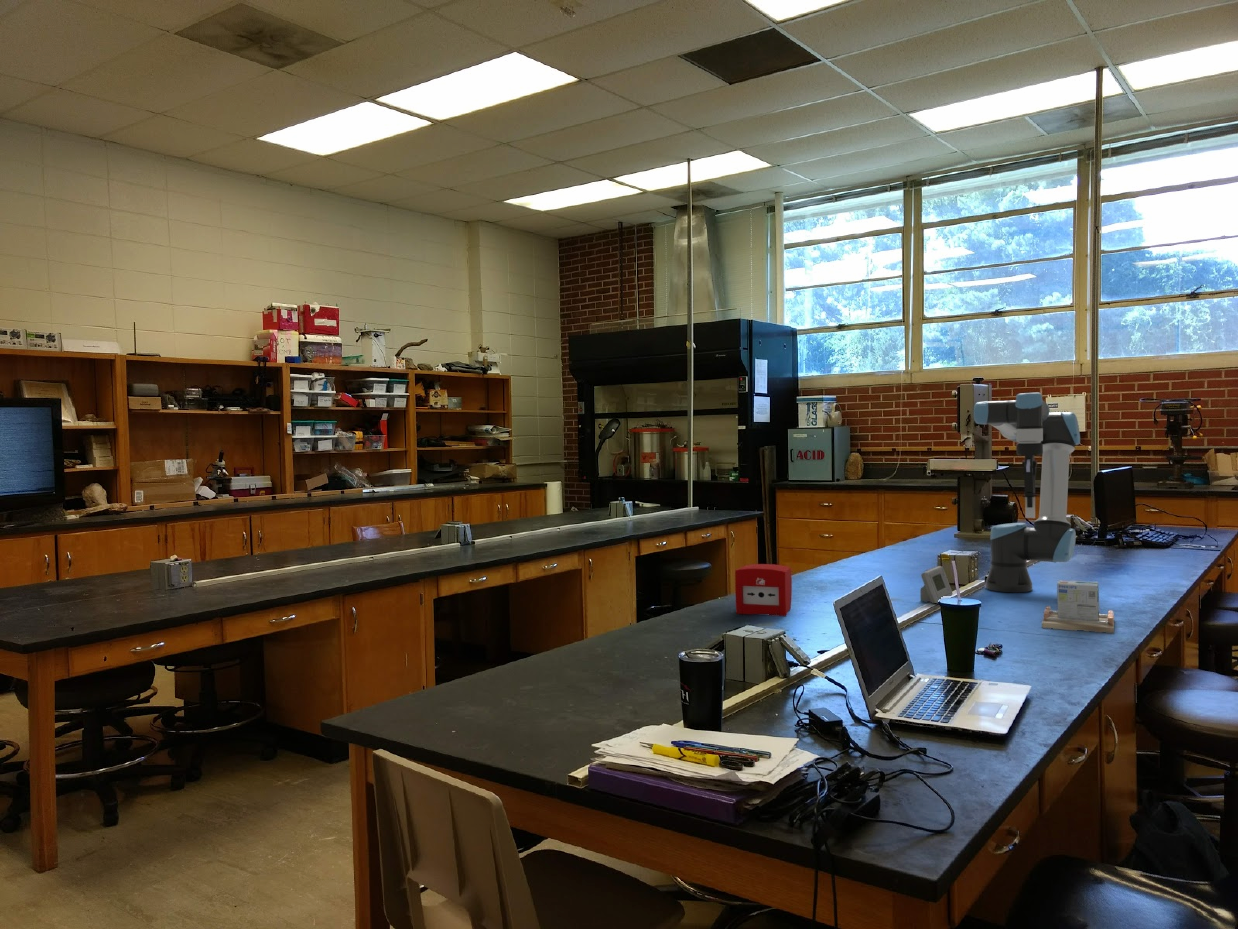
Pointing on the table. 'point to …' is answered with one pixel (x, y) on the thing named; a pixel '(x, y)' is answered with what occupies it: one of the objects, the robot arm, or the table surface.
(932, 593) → the digital clock
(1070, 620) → the rectangular frame
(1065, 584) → the light bulb box
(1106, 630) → the mounting board
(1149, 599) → the table surface
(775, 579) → the fire alarm
